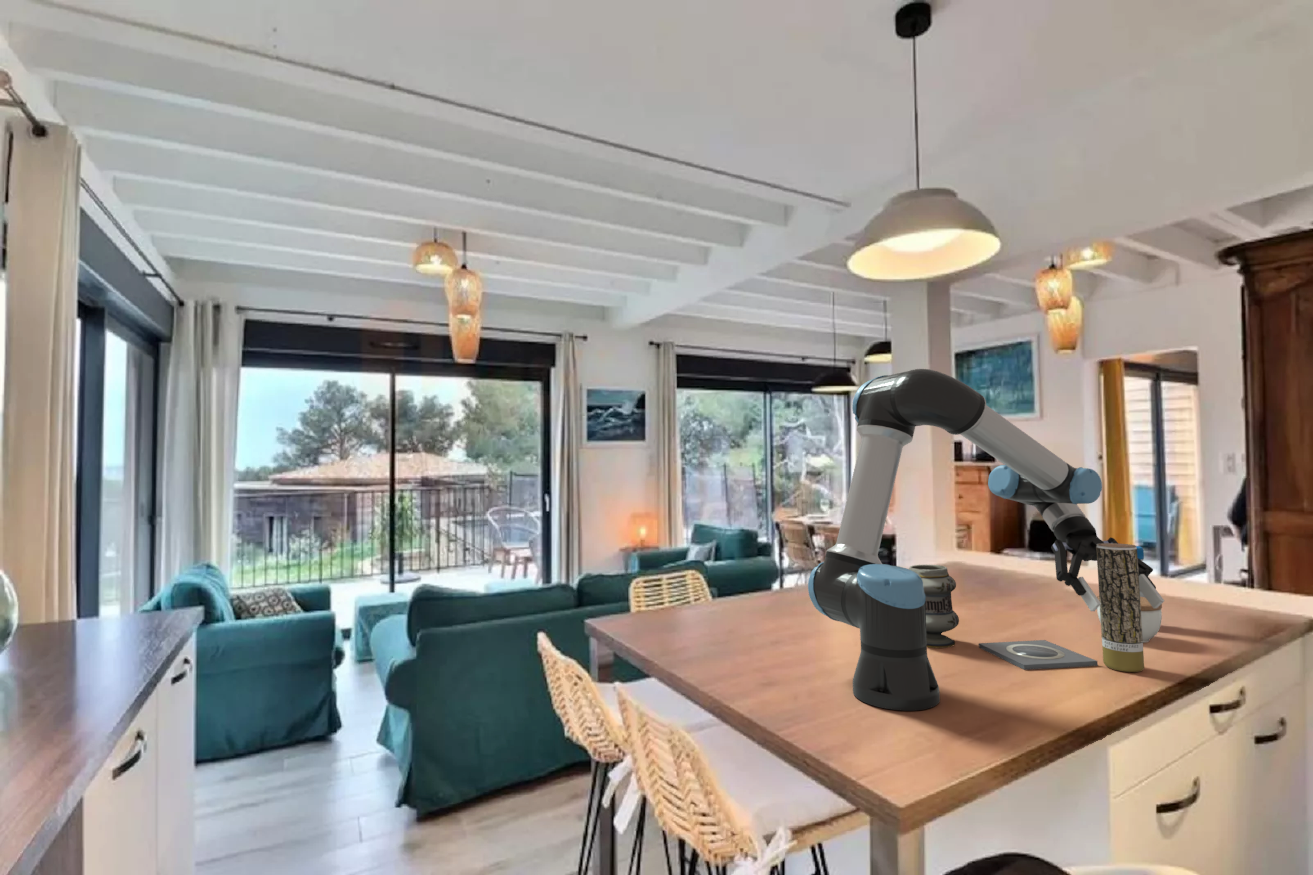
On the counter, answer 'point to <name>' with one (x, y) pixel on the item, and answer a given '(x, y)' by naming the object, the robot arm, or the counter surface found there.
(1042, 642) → the tile
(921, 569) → the apothecary jar
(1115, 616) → the paper tube
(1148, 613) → the lidded bowl
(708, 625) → the counter surface
